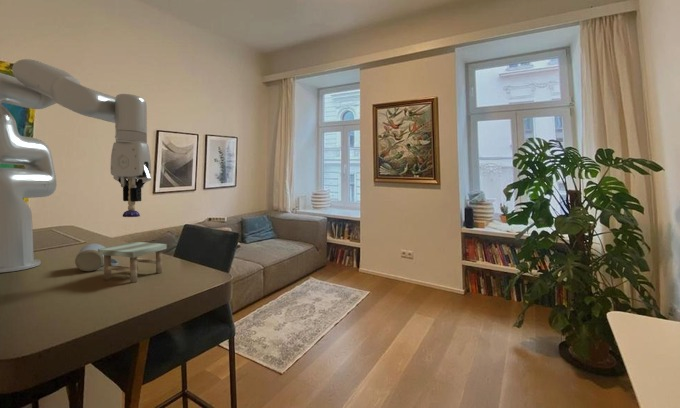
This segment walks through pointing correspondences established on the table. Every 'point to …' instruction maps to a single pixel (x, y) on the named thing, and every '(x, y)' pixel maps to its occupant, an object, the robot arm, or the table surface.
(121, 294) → the table surface
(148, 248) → the footstool
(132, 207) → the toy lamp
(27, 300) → the table surface
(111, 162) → the robot arm
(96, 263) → the ceramic mug
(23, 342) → the table surface
